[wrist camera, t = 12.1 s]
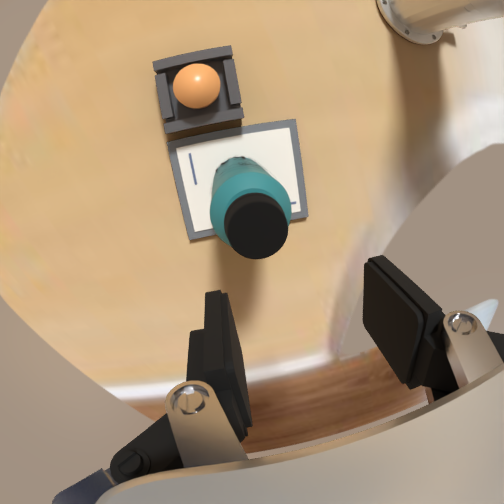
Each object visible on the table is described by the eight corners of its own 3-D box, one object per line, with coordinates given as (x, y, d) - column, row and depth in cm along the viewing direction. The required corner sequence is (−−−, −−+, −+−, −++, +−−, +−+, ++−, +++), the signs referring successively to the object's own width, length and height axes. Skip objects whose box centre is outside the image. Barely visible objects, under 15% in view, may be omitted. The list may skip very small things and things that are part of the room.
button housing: (229, 52, 31) (231, 45, 28) (241, 118, 35) (244, 117, 32) (157, 67, 31) (152, 61, 28) (170, 133, 35) (165, 133, 31)
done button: (216, 64, 29) (216, 59, 27) (223, 104, 31) (223, 102, 29) (172, 73, 29) (169, 69, 27) (180, 113, 31) (177, 112, 29)
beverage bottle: (262, 205, 39) (305, 280, 20) (209, 204, 38) (205, 280, 19) (266, 154, 36) (318, 183, 18) (211, 152, 35) (206, 178, 17)
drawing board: (293, 119, 36) (296, 118, 35) (306, 214, 41) (309, 217, 40) (167, 142, 35) (166, 142, 34) (189, 237, 40) (189, 240, 39)
